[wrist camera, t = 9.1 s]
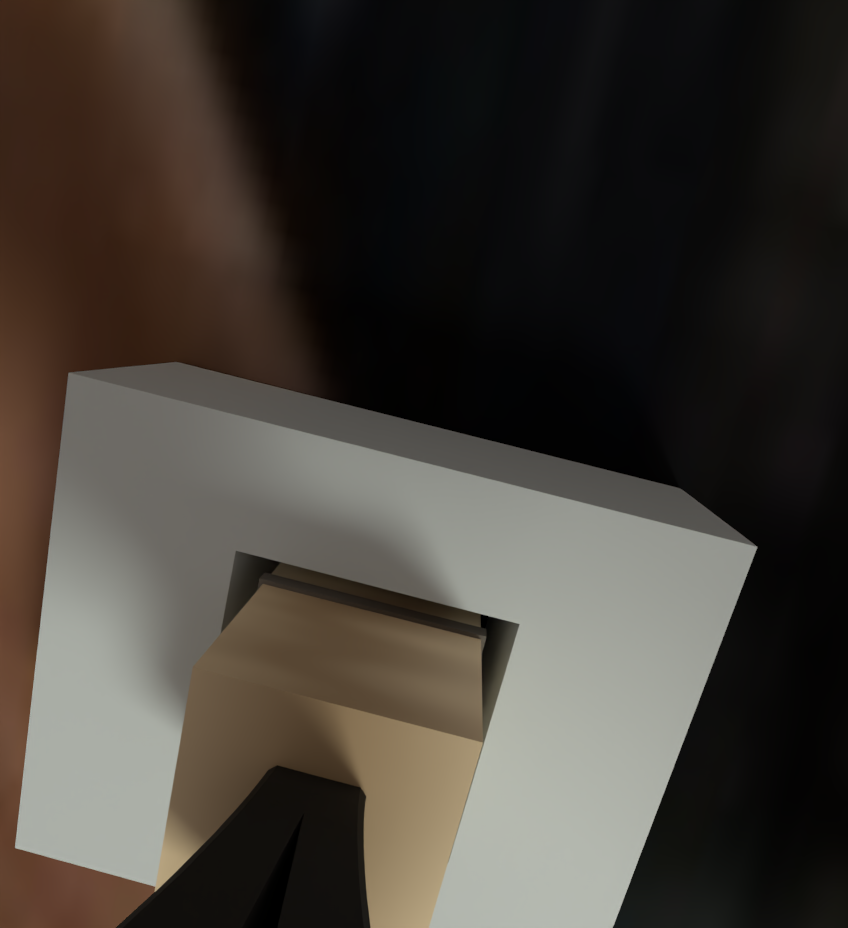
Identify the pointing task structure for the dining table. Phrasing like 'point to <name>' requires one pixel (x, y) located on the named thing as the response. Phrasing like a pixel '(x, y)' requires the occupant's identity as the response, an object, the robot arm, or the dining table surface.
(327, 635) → the peg
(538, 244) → the dining table surface
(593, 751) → the socket block
